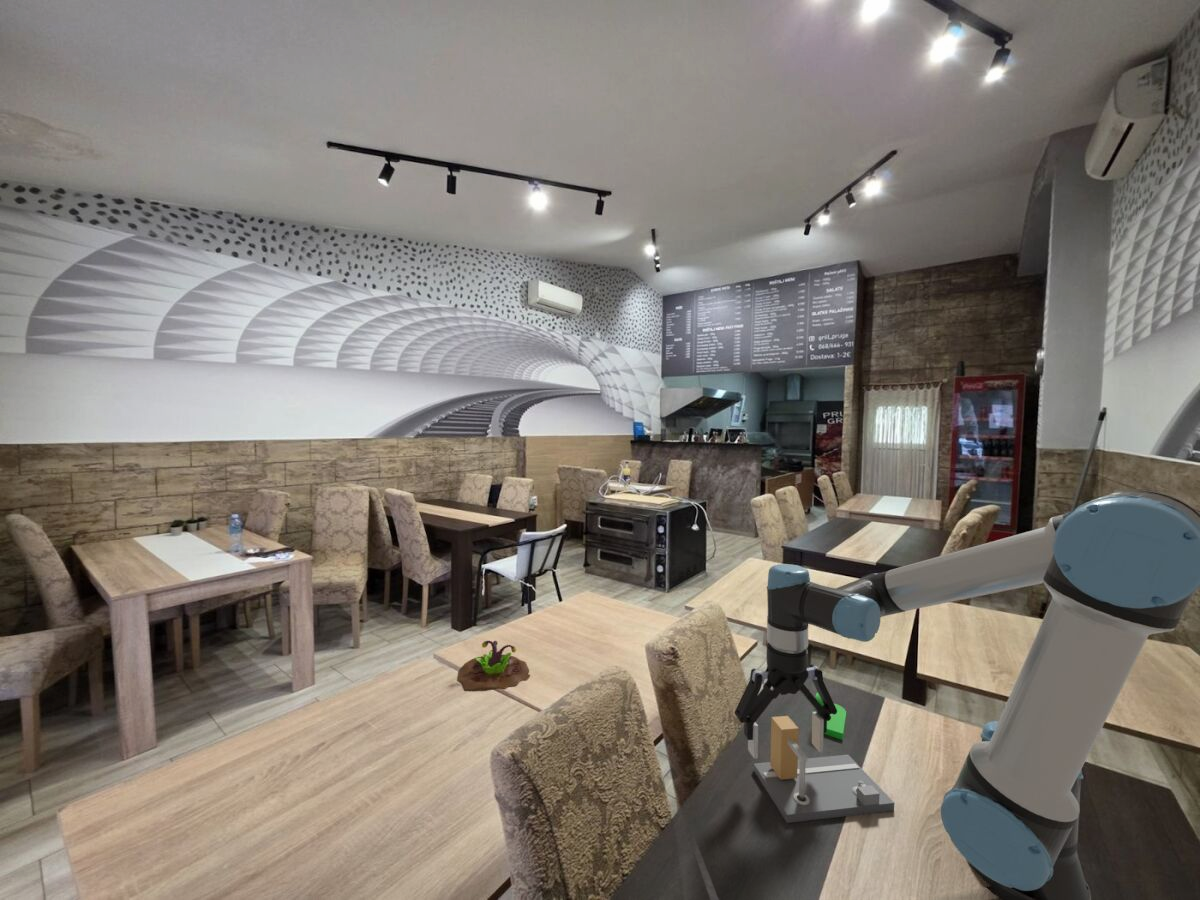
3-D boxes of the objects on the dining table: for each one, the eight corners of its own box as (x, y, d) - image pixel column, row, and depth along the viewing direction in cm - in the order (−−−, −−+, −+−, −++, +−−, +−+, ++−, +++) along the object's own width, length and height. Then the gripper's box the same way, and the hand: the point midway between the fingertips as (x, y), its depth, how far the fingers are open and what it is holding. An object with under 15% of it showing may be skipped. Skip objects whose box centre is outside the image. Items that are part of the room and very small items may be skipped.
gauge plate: (894, 810, 88) (894, 792, 88) (787, 822, 85) (787, 804, 85) (847, 761, 101) (848, 745, 100) (753, 770, 98) (754, 754, 98)
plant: (455, 667, 139) (454, 629, 139) (522, 657, 146) (522, 621, 145) (459, 705, 121) (458, 661, 120) (535, 691, 127) (535, 650, 126)
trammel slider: (812, 797, 88) (813, 745, 88) (794, 799, 88) (795, 746, 87) (786, 763, 97) (787, 715, 97) (770, 765, 97) (771, 717, 96)
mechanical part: (842, 742, 107) (843, 707, 107) (813, 733, 110) (814, 699, 110) (846, 714, 117) (847, 683, 117) (820, 707, 121) (821, 676, 120)
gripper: (833, 633, 99) (831, 733, 100) (718, 640, 95) (717, 744, 96) (858, 649, 92) (855, 757, 92) (734, 658, 88) (733, 770, 89)
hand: (785, 750), depth 94 cm, fingers open, 13 cm apart
